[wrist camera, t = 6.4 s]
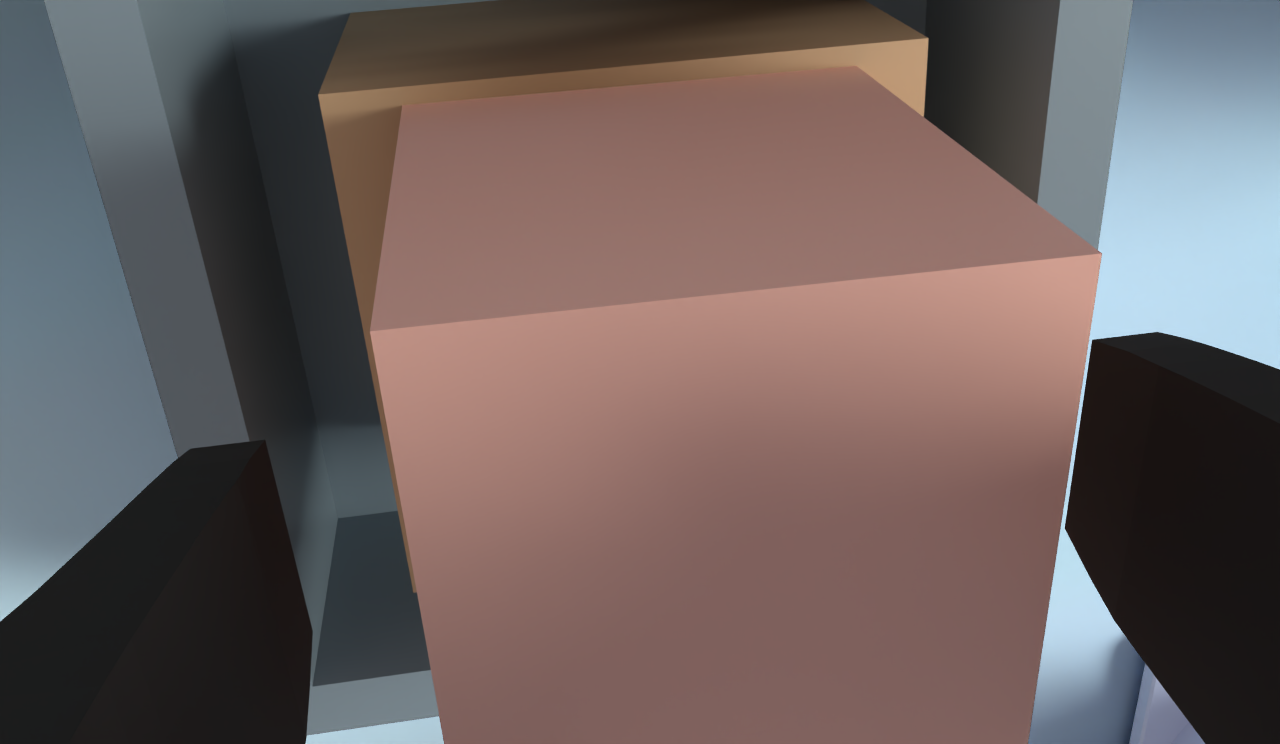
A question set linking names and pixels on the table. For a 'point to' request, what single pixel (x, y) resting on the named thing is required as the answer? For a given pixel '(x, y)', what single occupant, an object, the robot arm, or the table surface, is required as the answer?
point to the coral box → (726, 414)
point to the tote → (322, 276)
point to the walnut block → (565, 78)
